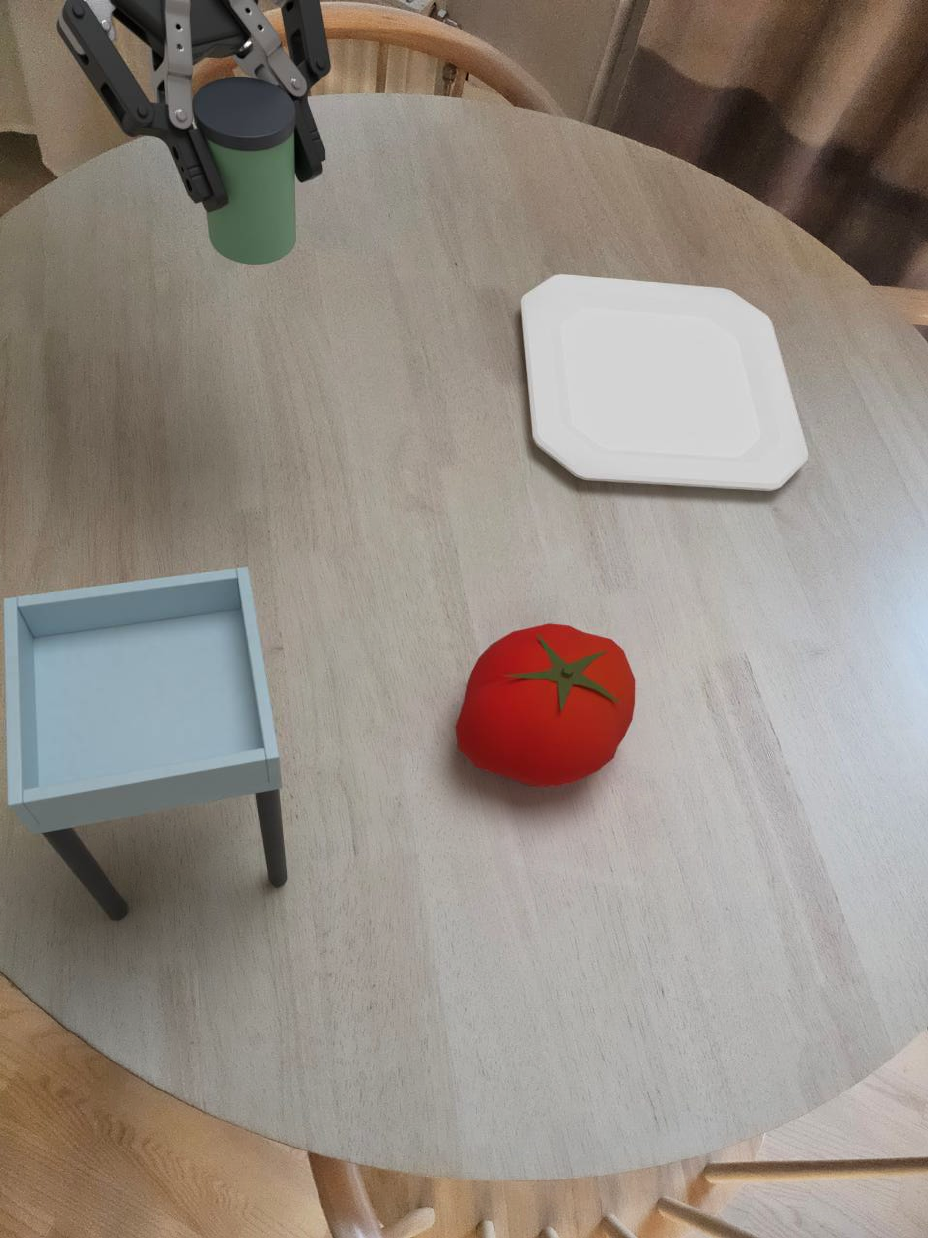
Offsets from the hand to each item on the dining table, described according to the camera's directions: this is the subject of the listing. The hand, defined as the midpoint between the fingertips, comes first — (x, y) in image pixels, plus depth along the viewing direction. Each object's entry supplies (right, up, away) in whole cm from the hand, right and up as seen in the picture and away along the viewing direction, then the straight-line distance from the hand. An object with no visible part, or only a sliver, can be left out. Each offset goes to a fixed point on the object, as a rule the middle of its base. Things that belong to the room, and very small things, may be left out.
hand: (266, 191), depth 52 cm
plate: (+28, -2, +36) cm, 46 cm away
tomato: (+16, -32, +17) cm, 39 cm away
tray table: (-7, -37, +10) cm, 39 cm away
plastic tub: (-2, -1, +4) cm, 5 cm away
